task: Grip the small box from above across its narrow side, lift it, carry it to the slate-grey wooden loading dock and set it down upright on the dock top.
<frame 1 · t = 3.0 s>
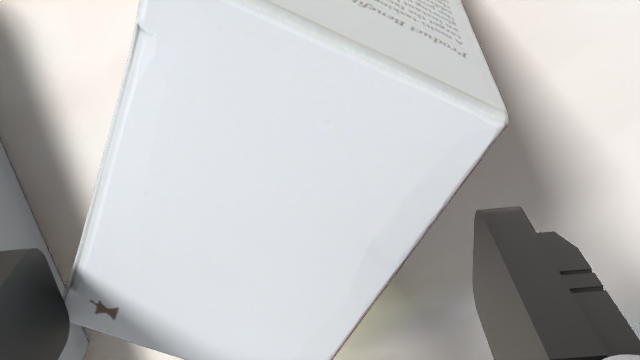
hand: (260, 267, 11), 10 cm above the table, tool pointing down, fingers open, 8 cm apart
small box: (301, 17, 19), on the table, touching gripper
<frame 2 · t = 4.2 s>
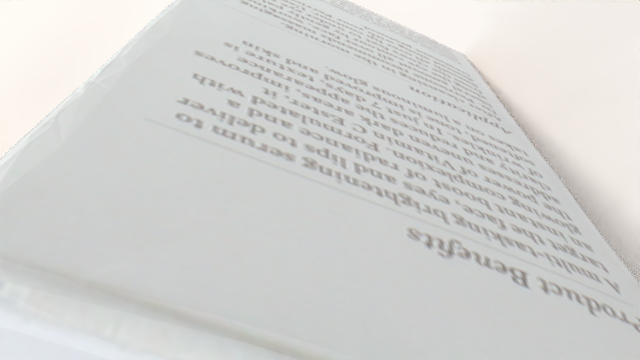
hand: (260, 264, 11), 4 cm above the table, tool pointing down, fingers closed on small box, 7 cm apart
small box: (284, 150, 14), on the table, touching gripper
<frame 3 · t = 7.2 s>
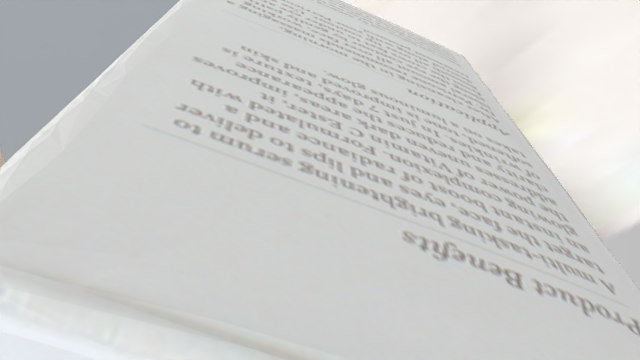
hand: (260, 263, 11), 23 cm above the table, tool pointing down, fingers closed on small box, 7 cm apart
small box: (286, 152, 14), point 19 cm above the table, touching gripper
loading dock: (138, 32, 32), on the table
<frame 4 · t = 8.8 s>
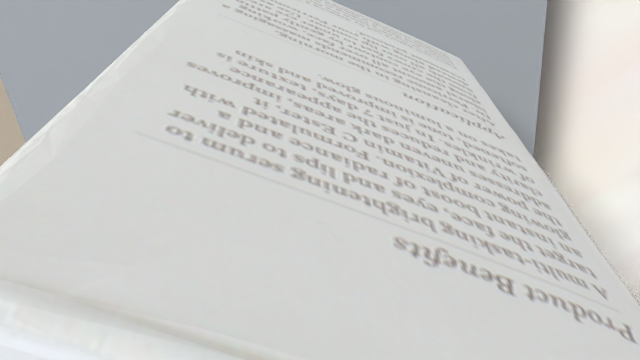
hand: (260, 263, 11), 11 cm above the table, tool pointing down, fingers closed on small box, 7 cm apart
small box: (283, 154, 14), point 7 cm above the table, touching gripper
loading dock: (284, 75, 20), on the table
when the fingers open (9 cm above the table, at t = 10.2 s): small box drops 1 cm, resting on loading dock.
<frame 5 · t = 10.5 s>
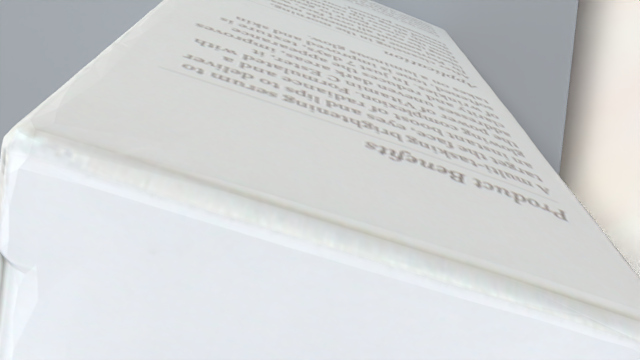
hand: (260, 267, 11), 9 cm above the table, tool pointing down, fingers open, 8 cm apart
small box: (287, 129, 15), point 4 cm above the table, touching loading dock
loading dock: (284, 95, 19), on the table
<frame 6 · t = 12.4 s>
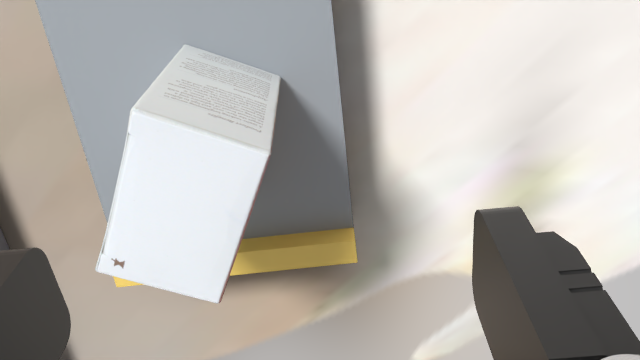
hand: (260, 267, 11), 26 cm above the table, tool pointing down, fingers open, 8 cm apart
small box: (216, 121, 33), point 4 cm above the table, touching loading dock
loading dock: (220, 107, 36), on the table
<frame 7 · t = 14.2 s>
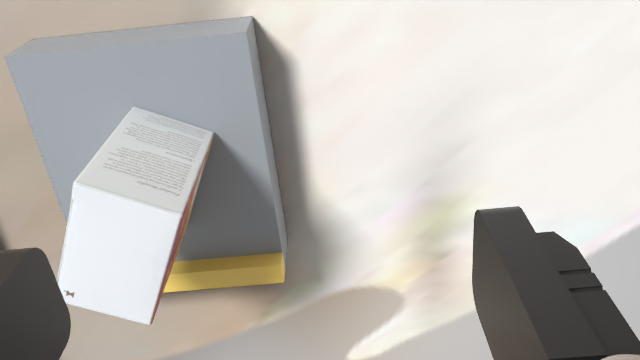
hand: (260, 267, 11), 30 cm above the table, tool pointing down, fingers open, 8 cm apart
small box: (162, 166, 39), point 4 cm above the table, touching loading dock
loading dock: (171, 148, 43), on the table
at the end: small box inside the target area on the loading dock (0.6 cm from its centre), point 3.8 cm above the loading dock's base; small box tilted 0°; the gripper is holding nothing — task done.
